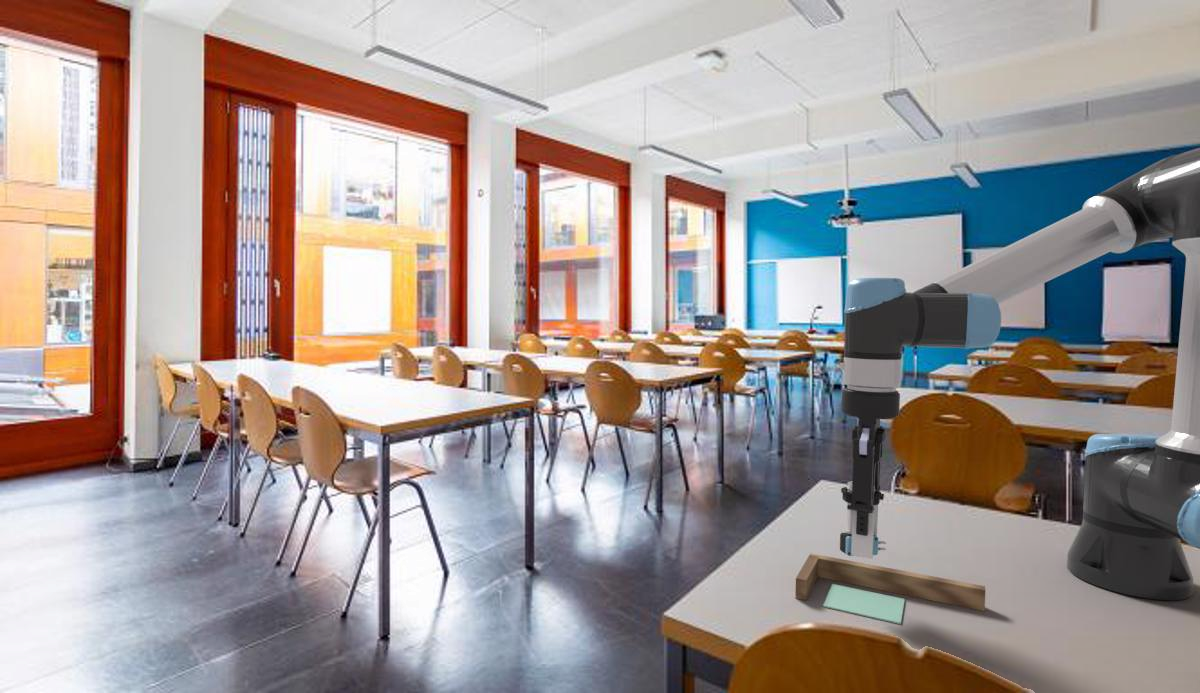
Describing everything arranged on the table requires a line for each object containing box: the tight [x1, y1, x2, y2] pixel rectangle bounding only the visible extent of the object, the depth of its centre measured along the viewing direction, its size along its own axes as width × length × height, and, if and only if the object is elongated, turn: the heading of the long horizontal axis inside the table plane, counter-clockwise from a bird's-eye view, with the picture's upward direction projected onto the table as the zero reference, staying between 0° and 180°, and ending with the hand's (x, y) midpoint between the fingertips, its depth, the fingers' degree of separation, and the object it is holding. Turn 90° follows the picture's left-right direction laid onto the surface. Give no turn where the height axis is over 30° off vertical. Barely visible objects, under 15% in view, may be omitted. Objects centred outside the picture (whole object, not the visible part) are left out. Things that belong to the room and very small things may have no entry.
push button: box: [839, 480, 887, 557], centre depth 89 cm, size 7×5×10 cm
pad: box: [822, 583, 906, 625], centre depth 90 cm, size 10×8×1 cm
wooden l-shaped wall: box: [794, 553, 986, 612], centre depth 90 cm, size 24×11×3 cm, turn 61°
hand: (864, 549), depth 89 cm, fingers closed on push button, 5 cm apart
